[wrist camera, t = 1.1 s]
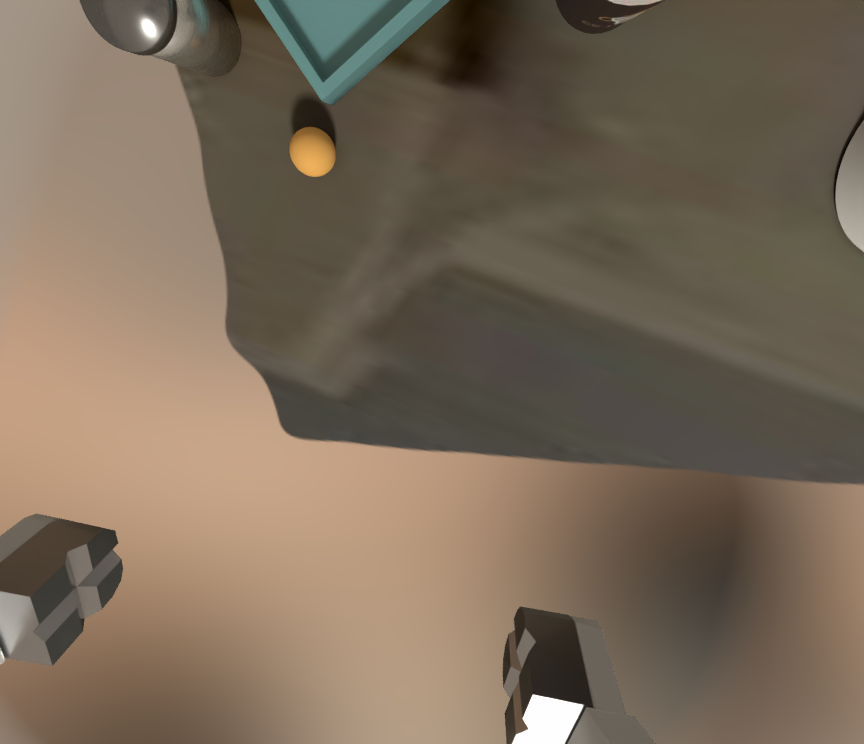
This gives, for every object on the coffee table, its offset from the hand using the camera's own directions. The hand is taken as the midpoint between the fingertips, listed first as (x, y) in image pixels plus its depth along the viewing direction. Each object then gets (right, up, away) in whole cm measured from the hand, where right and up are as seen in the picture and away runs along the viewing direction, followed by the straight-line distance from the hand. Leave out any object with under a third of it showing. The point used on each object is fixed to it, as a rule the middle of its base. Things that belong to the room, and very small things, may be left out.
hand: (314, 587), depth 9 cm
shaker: (-15, +30, +25) cm, 41 cm away
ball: (-7, +22, +27) cm, 36 cm away
